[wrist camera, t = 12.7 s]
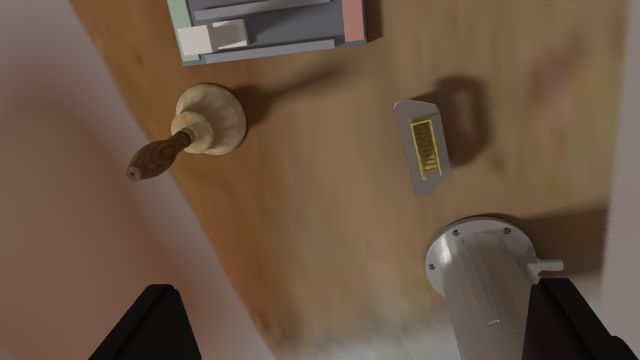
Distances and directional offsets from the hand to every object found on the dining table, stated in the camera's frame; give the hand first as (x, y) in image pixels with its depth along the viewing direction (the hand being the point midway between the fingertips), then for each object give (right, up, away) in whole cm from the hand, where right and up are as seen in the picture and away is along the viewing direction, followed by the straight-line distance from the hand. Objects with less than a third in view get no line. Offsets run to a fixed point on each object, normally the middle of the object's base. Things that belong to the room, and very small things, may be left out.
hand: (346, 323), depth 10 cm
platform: (+10, +9, +31) cm, 34 cm away
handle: (-9, +18, +27) cm, 34 cm away
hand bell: (-13, +11, +33) cm, 37 cm away
